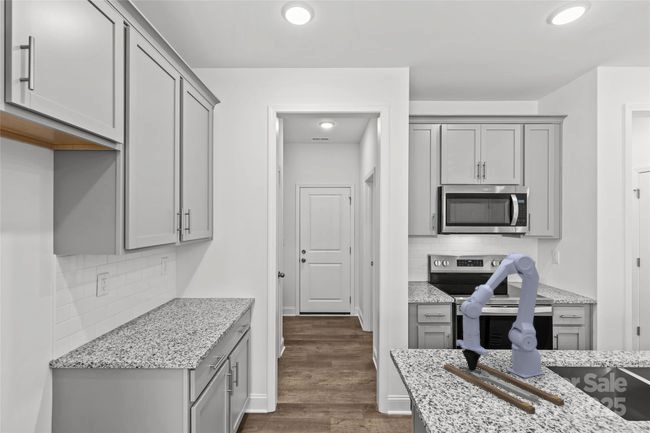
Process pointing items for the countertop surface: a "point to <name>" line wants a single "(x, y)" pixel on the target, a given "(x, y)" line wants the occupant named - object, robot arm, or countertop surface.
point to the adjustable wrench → (504, 385)
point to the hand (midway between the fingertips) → (472, 370)
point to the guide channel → (503, 395)
